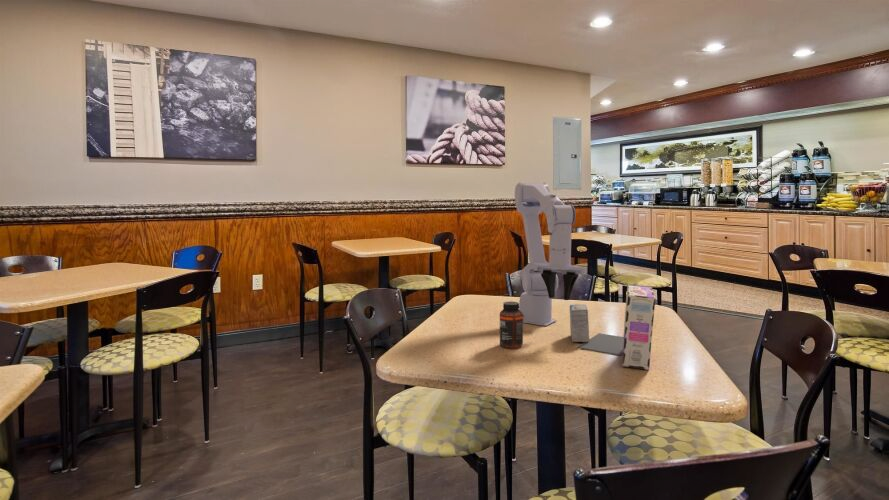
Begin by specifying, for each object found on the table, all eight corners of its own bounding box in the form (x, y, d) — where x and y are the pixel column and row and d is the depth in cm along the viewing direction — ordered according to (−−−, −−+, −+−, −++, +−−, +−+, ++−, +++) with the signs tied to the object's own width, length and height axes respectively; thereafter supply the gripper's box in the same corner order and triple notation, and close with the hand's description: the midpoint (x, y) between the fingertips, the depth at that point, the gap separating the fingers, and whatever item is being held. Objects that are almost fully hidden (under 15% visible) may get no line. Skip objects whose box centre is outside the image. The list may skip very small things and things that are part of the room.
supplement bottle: (524, 343, 129) (525, 301, 128) (520, 350, 123) (521, 305, 122) (502, 341, 131) (502, 299, 130) (497, 348, 125) (497, 304, 124)
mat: (577, 348, 125) (577, 347, 125) (598, 334, 138) (598, 333, 138) (621, 356, 118) (621, 354, 118) (639, 340, 131) (639, 339, 131)
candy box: (650, 371, 108) (656, 297, 106) (621, 367, 110) (627, 294, 108) (647, 352, 121) (653, 286, 119) (622, 348, 123) (627, 283, 121)
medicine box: (589, 342, 129) (588, 309, 128) (571, 342, 129) (570, 309, 129) (586, 335, 136) (586, 304, 136) (570, 335, 137) (569, 304, 137)
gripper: (529, 249, 135) (528, 298, 136) (580, 252, 126) (579, 304, 128) (540, 247, 141) (539, 294, 142) (590, 249, 132) (589, 299, 133)
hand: (559, 298), depth 135 cm, fingers open, 4 cm apart
